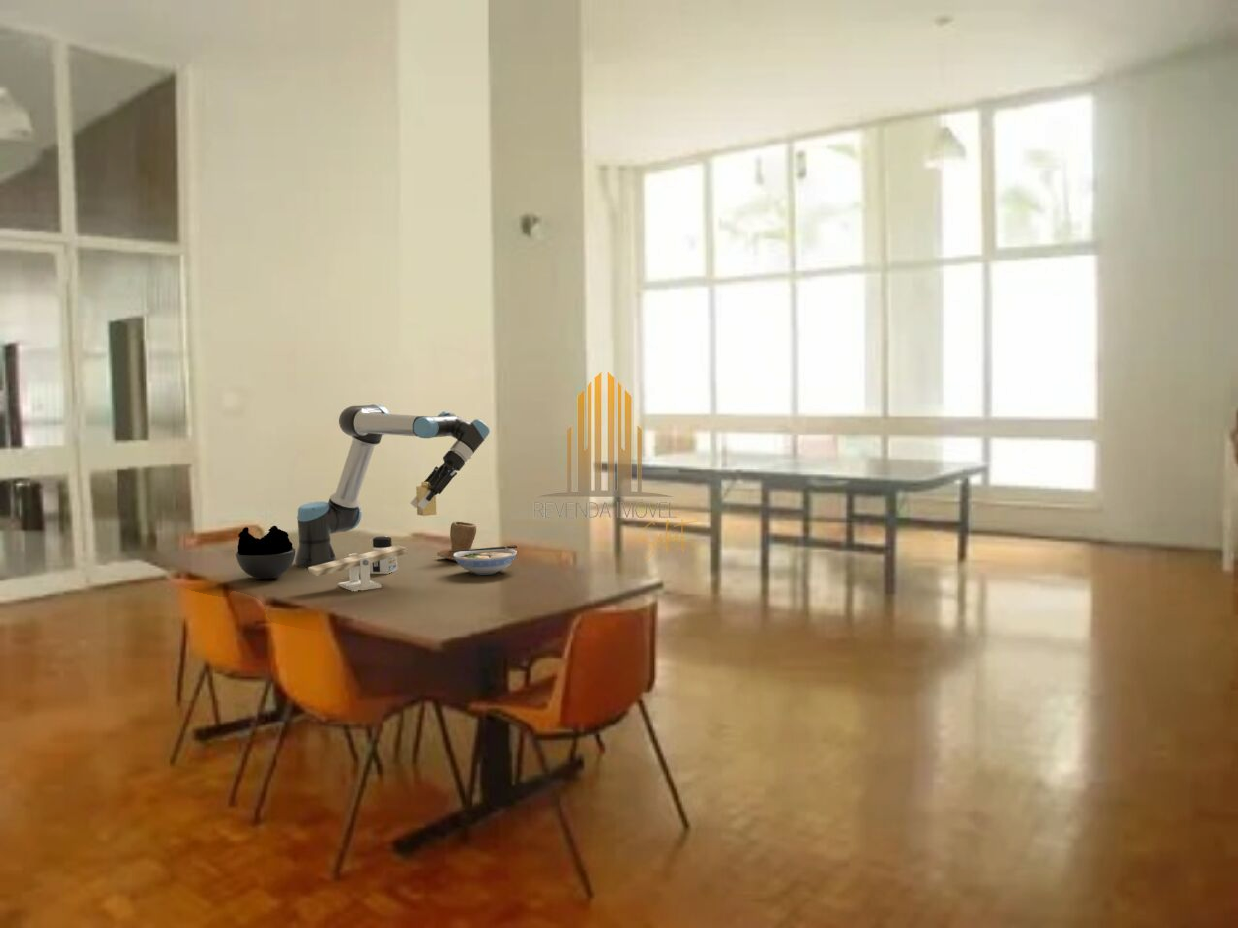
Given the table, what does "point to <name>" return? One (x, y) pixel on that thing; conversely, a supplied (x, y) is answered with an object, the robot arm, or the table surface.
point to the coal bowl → (265, 553)
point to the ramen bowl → (485, 559)
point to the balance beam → (357, 560)
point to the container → (386, 564)
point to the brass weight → (420, 493)
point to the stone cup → (459, 538)
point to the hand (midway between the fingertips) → (416, 506)
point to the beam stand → (364, 581)
